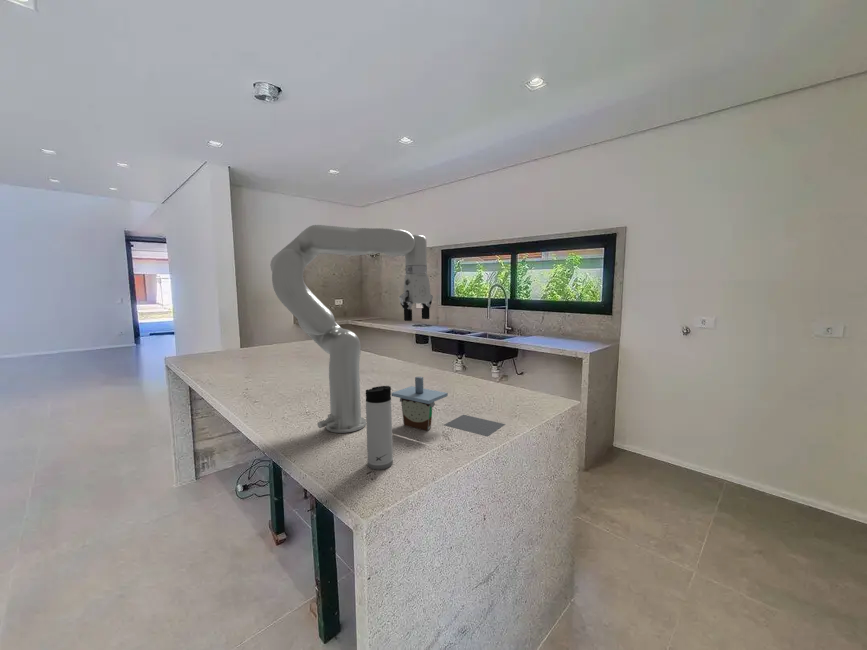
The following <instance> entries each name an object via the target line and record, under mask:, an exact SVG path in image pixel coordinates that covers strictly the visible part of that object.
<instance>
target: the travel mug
mask: <svg viewBox="0 0 867 650" xmlns="http://www.w3.org/2000/svg"><path fill="white" fill-rule="evenodd" d="M392 411H393V410H392V387H391V386H389V385H380V386H379V385H378V386H374V387H371V388H370V389H366V390H365V418H366V419H365V420H366V450H367V451H366V452H367V453H366V454H367V455H366V456H367V466H368V467H369V468H370V469H373V470H377V471H379V470H380V469H381V470H385V468H386V469H388V468H390V467H391V466H392V465H393V464H394V463H393V461H394V460H393V459H394V457H393V456H394V455H393V454H394V453H393V451H394V450H393V423H392V420H393V417H392ZM381 470H380V471H381Z"/></svg>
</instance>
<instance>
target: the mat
mask: <svg viewBox="0 0 867 650" xmlns="http://www.w3.org/2000/svg"><path fill="white" fill-rule="evenodd" d="M505 425H506V423H502V422H498V421H493V420H489V419H485V418H480V417H476V416H471V415H467V414H461V415H460V416H458V417H456V418H454V419H453V420H450V421H448V422H447V423H444V424H443V426H446V427H450V428H453V429H458V430H459V431H460V430H461V431H465V432H469V433H473V434H475V435H476V434H477V435H480V436H484V437H490V436H491V435H493V434H494V433H495V432H496V431H498V430H500V429H501V428H502V427H504V426H505Z"/></svg>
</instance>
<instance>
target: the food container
mask: <svg viewBox="0 0 867 650" xmlns="http://www.w3.org/2000/svg"><path fill="white" fill-rule="evenodd" d="M399 402H400V403H401V411H402V421H403V426H407V427H410V428H415V429H419V430H424V431H427V432H428V431H430V430H431V429H432V421H433V419H432V418H433V408H434V407H435V405H436V404H435V402H432V403H430V404H426V403H422V402H417V401H412V400H408V399H403V398H399Z"/></svg>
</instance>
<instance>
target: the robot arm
mask: <svg viewBox="0 0 867 650" xmlns="http://www.w3.org/2000/svg"><path fill="white" fill-rule="evenodd" d="M427 243H428V242H427V237H426V236H424V235H421V234H412V233H410V232H409V231H407V230H403V229H396V228H395V229H393V228H383V227H382V228H377V227H376V228H372V227H371V228H368V227H367V228H366V227H348V226H347V227H345V226H335V225H327V224H326V225H324V224H313V225H310V226H307V227H306V228H305V229H304V230H302V231H301V232H300V233H299V234H298V235H297V236H296V237H295V238H294V239H293V240H292V241H290V242H289V243H288V244H287V245H285V247H283V248H282V249H281V250H279V251H278V252H277V253H276V254H274V256H273V257H272V259H271V260H270V270H271V272H272V273H271V281H272V288H273V291H274V293H275V295H276V297H277V299H278V300H279V301H280V302H281V304H282V305H283V306H284V307H285V308H286V309H287V310H288V312H290V313H291V314H292V315H293V316H294V318H296V319H297V324H298V326H299V327H300V328H301V330H302V331H303V332H304V333H305V334H306V335H307V336H308V337H310V339H311V340H312V341H313V342H314V343H316V345H317V346H319V347H320V348H321V349H322V350H323V351H324V352H325V353H327V354H328V355H329V363H328V380H329V406H330V414H327V417H326V418H325V420H323V419H322V420H321V421H318V422H317V427H318V428H319V429H321V428H326V430H327V431H328V432H332V433H336V434H345V433H351V432H352V433H353V432H356V431H359V430H361V429H363V428H364V427H366V426H367V424H366V419H365V418H364V417H362V408H361V382H360V381H361V378H360V360H361V350H362V345H361V341H360V337H358V335H357V334H356V333H355V332H354V331H352V330H350V329H347V328H342V327H341V326H340V324H338V323H337V322H336V319H335V315H334V314H333V312H332V310H330V309H329V307H327V306H326V305H325V304H324V303H323V302H322V301H321V300H320V298H318V297H317V295H315V294H314V292H312V291H311V290H310V288H309V287H308V286H307V285H306V283H305V280H304V273H305V272H304V271H305V269H306V267H307V266H308V265H309V264H311V263H312V262H313V261H314V259H316V258H317V257H318V256H319V255H321V254H322V255H343V256H364V255H369V254H377V253H378V254H379V253H381V254H382V253H383V254H385V255H386V256H388V257H392V258H393V257H405V259H404V260H405V261H404V262H405V263H404V264H405V269H404V270H405V274H404V280H403V293H402V294H400V296H398V299H399V302H400V306H401V307H402V310H403V319H404V320H403V321H404V322H412V321H413V309H411V308H412V307H413V305H414V304H417V305H418V304H420V305H421V306H422V307H421V319H422V320H430V316H431V315H430V308H431V306H432V301H433V298H434V297H433V295H432V294H431V285H430V284H431V283H430V278H429V275H428V266H427V265H428V263H427V262H428V260H427V255H428V253H427V250H428V249H427Z"/></svg>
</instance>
